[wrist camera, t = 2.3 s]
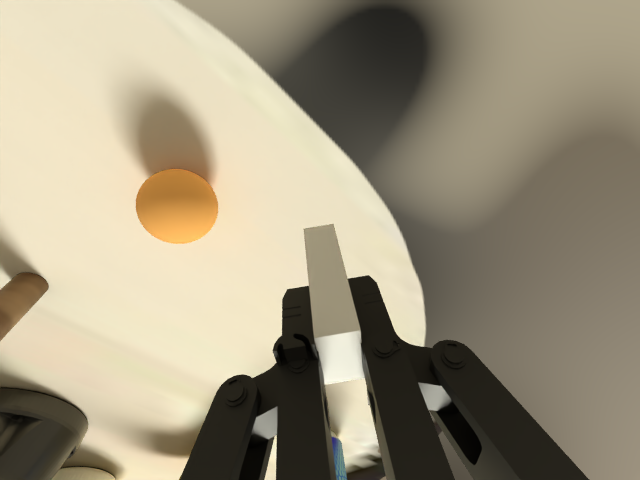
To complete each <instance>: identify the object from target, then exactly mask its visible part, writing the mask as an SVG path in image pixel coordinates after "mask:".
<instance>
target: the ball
mask: <svg viewBox="0 0 640 480" xmlns="http://www.w3.org/2000/svg"><path fill="white" fill-rule="evenodd" d="M136 211H137V215H138V218H139V220H140V222H141V224H142V225H143V227H144V228H145V229H146V230H147V231H148V232H149V233H150V234H151V235H153V236H154V237H156V238H158V239H160V240H162V241H165V242H168V243H174V244H184V243H189V242H193V241H195V240H198V239H200V238H201V237H203V236H204V235H206V234H207V233H208V232H209V231H210V229H211V228H212V227H213V225H214V223H215V221H216V218H217V214H218V202H217V198H216V195H215V193H214V191H213V189H212V187H211V186H210V185H209V184H208V183H207V182H206V181H205V180H204V179H203V178H202V177H200V176H199V175H197V174H195V173H193V172H190V171H187V170H182V169H168V170H163V171H160V172H158V173H155V174H154V175H152V176H151V177H149V178H148V179H147V180H146V181H145V182H144V183H143V184H142V186H141V188H140V189H139V192H138V194H137V198H136Z"/></svg>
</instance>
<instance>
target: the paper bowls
mask: <svg viewBox="0 0 640 480" xmlns="http://www.w3.org/2000/svg"><path fill="white" fill-rule="evenodd" d="M51 480H115V478H114V477H113V476H112V475H111V474H110V473H108V472H106V471H103V470H100V469H96V468H89V467H70V468H63V469H59V471H58V472H57V473H56V474H55V476H54V477H53V478H52V479H51Z"/></svg>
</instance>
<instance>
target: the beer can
mask: <svg viewBox="0 0 640 480" xmlns="http://www.w3.org/2000/svg"><path fill="white" fill-rule="evenodd" d="M331 436H332V445H333V453H334V462H335V470H336V479H337V480H347V477H346V470H345V463H344V457H343V450H342V443H341V441H340V440H339V439H338V438H337V437H336V434H335V433H334V432H332V431H331Z"/></svg>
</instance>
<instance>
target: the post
mask: <svg viewBox="0 0 640 480" xmlns="http://www.w3.org/2000/svg"><path fill="white" fill-rule="evenodd" d="M48 287H49V286H48V283H47V282H46V281H45V280H44V279H43V278H42V277H40V276H38V275H36V274H33V273H20V274H18V275H16V276H15V277H14V278H13V279H12V280H11V281H10V282H9V283H7V284H6V285H5V286H4V287H3V288H2V289H1V290H0V341H1V340H2V339H3V337H4V336H5V335H6V334H7V333H8V332H9V331H10V330H11V329H12V328H13V327H14V326H15V325H16V323H17V322H18V321H19V320H20V319H21V318H22V317H23V316H24V315H25V314H26V313H27V312H28V311H29V309H30V308H31V307H32V306H33V305H34V304H35V303H36V302H37V301H38V300H39V299H40V298H41V297H42V295H43V294H44V293H45V292H46V291H47V290H48Z"/></svg>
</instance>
